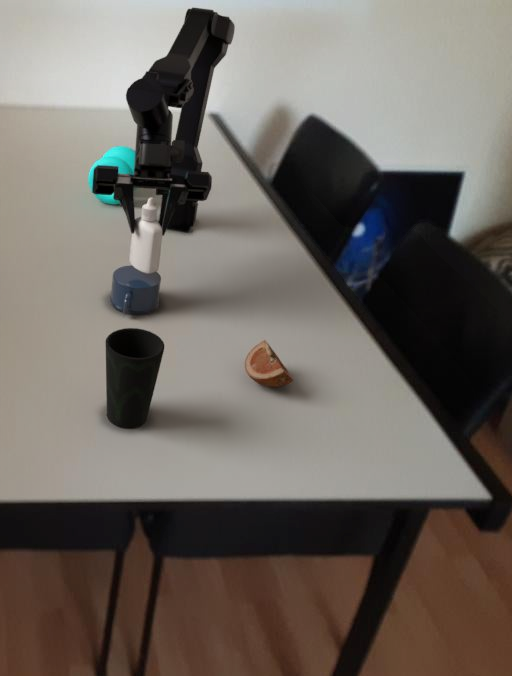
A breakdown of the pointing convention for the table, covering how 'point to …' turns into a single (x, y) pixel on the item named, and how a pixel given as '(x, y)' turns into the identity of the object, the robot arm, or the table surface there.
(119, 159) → the donuts
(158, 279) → the blue mug
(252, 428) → the table surface
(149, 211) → the eye dropper bottle
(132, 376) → the cup
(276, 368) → the fruit slice
